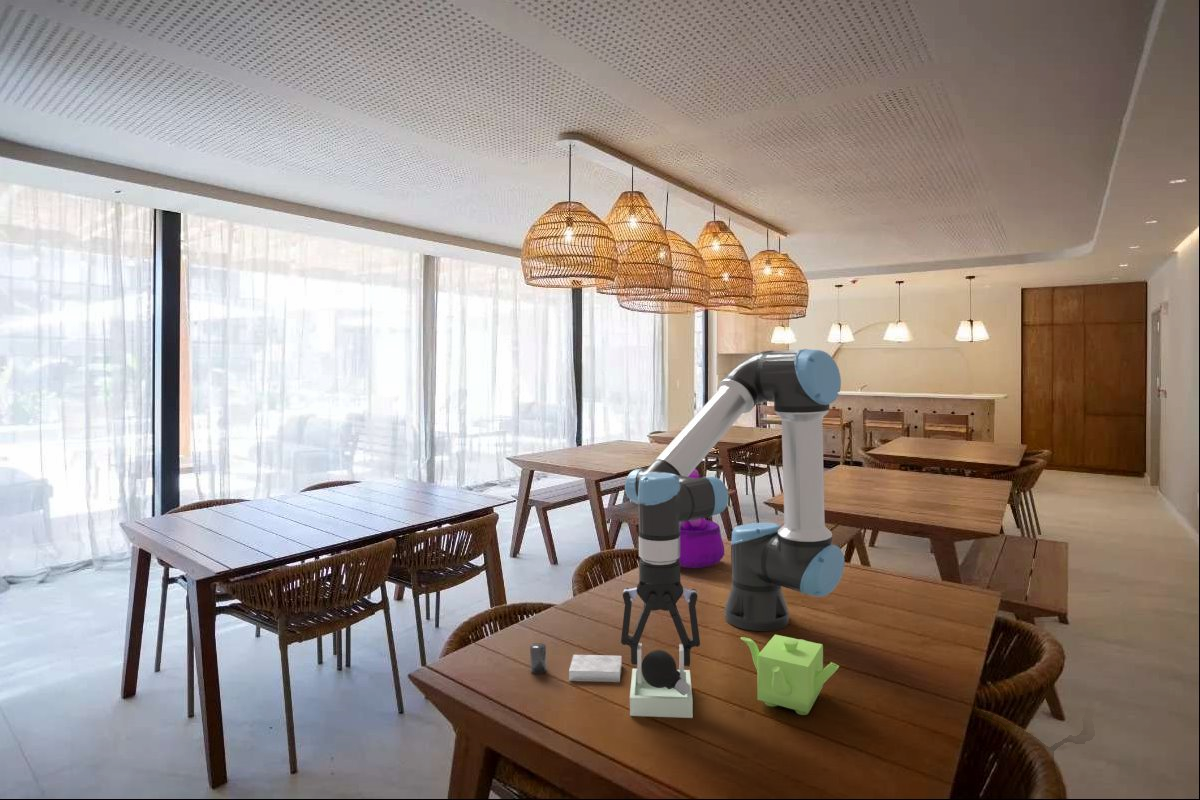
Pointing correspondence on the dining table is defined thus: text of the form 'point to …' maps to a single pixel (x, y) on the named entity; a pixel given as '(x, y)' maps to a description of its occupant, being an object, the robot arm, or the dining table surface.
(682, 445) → the robot arm
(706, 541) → the decorative plant
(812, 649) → the kettle
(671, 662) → the light bulb
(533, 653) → the cylinder
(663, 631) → the dining table surface
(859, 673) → the dining table surface
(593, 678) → the white stone flat block
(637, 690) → the tray
